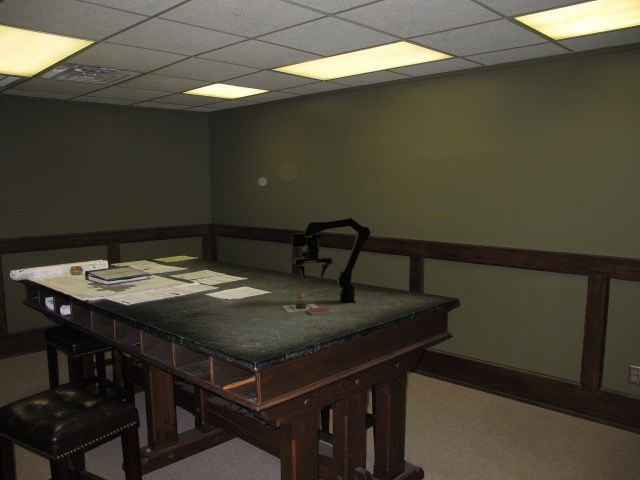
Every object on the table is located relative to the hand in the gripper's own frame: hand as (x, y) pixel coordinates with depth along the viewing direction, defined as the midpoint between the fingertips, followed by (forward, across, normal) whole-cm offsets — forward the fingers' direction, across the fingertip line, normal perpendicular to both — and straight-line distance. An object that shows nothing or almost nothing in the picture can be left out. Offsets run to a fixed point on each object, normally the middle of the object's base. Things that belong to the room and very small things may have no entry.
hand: (312, 278), depth 252 cm
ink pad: (+12, +3, +21) cm, 24 cm away
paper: (+12, +9, +11) cm, 19 cm away
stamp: (+12, +9, +11) cm, 18 cm away
